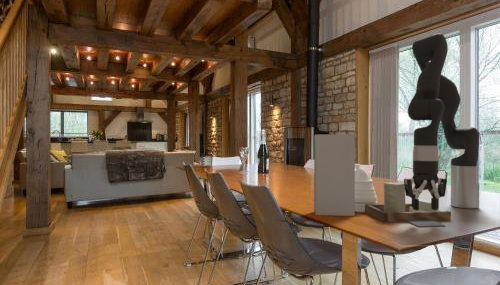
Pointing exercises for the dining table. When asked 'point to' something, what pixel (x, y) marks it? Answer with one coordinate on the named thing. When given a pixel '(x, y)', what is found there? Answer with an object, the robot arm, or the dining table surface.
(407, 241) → the dining table surface
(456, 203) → the robot arm
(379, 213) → the rack
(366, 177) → the honey pot
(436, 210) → the offcut lower
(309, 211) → the dining table surface
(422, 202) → the offcut upper
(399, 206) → the skincare box
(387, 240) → the dining table surface
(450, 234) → the dining table surface
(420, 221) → the felt mat
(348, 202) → the tall grey box
